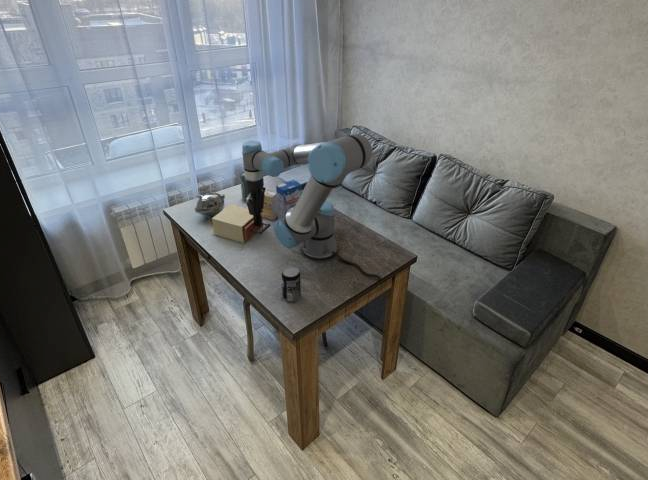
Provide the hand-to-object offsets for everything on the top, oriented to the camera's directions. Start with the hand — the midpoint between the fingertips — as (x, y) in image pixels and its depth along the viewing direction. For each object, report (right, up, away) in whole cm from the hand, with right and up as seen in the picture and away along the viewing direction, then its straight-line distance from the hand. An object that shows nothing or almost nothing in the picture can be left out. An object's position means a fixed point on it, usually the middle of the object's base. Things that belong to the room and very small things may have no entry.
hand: (257, 225), depth 176 cm
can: (-12, +12, +32) cm, 36 cm away
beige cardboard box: (-11, -3, +6) cm, 13 cm away
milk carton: (+12, +1, +15) cm, 19 cm away
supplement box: (+1, +4, +18) cm, 19 cm away
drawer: (-6, -3, +4) cm, 8 cm away
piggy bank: (-26, +4, +17) cm, 31 cm away
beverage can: (+19, -26, -29) cm, 43 cm away
